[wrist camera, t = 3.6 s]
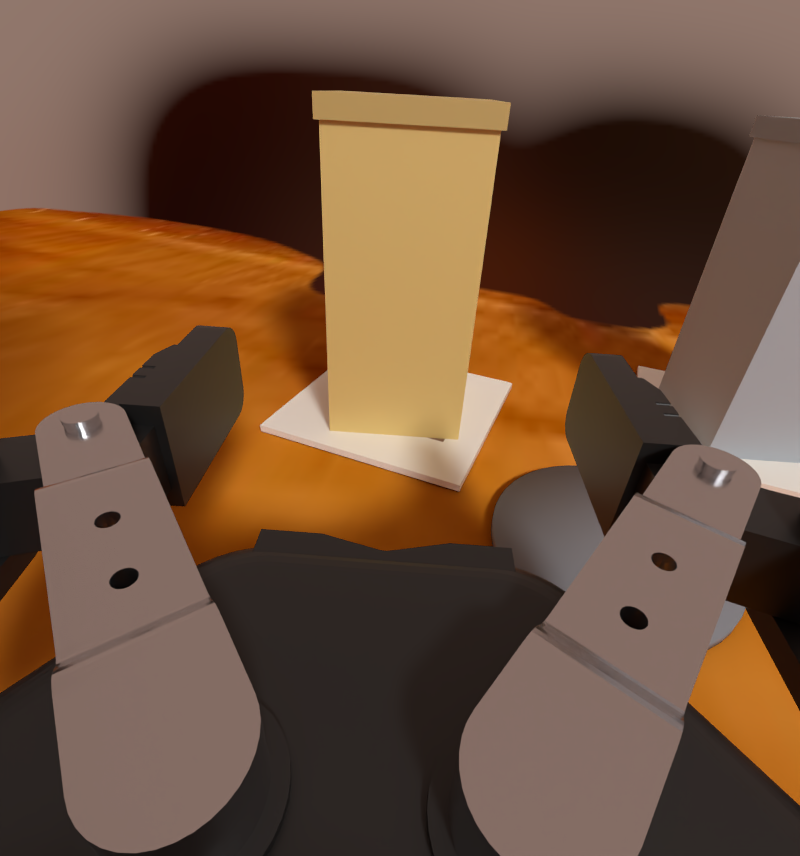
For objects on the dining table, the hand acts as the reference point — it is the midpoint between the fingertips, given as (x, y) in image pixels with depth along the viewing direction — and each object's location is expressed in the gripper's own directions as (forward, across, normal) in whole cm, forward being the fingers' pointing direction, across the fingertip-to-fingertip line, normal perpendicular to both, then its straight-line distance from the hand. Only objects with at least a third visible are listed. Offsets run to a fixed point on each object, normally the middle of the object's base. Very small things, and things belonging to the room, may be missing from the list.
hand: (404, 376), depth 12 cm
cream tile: (+10, 0, +7) cm, 12 cm away
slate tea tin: (+10, -16, +7) cm, 20 cm away
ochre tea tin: (+10, 0, +7) cm, 12 cm away
